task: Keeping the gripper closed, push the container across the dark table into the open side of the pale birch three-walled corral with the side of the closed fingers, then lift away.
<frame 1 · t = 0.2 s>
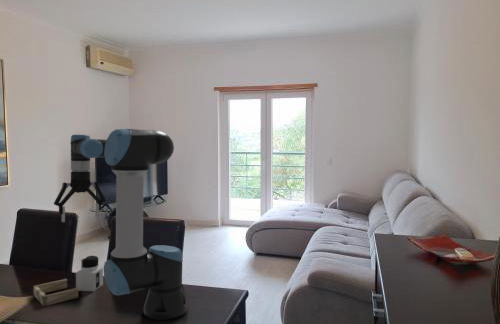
hand: (80, 220, 158), 27 cm above the table, fingers open, 13 cm apart
corral: (57, 295, 144), on the table
container: (89, 288, 153), on the table
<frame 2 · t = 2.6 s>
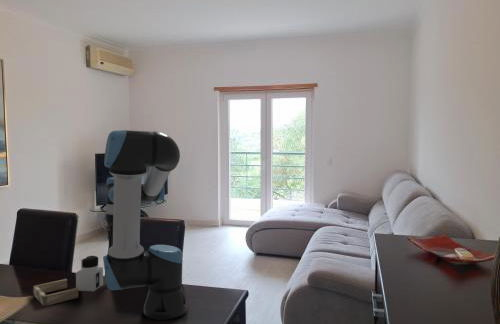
hand: (115, 266, 161), 7 cm above the table, fingers closed
nothing on the table moved.
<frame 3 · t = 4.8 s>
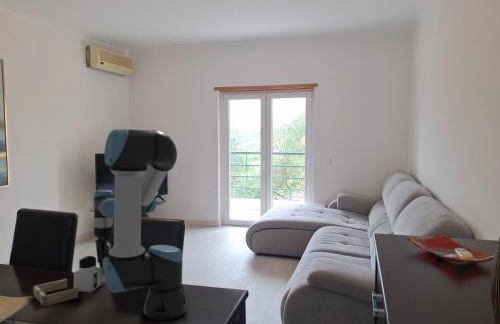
hand: (103, 280, 157), 1 cm above the table, fingers closed
container: (87, 288, 152), on the table, touching gripper
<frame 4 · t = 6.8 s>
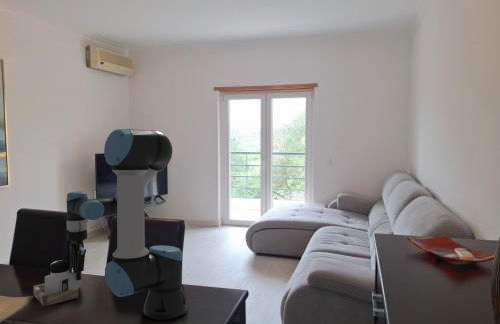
hand: (77, 287, 149), 1 cm above the table, fingers closed
container: (59, 294, 146), on the table, touching gripper
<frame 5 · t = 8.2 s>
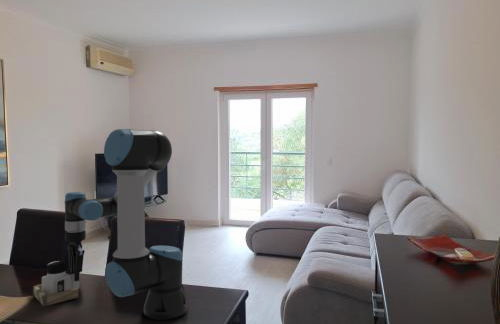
hand: (75, 288, 149), 1 cm above the table, fingers closed
container: (56, 295, 145), on the table
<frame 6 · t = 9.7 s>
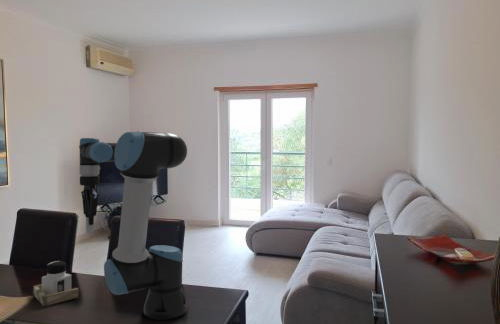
hand: (89, 232, 152), 23 cm above the table, fingers closed
nothing on the table moved.
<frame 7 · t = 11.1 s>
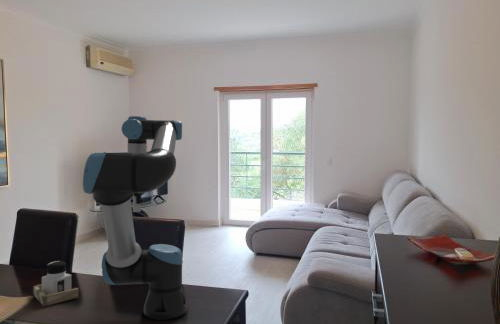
hand: (137, 211, 151), 32 cm above the table, fingers closed
nothing on the table moved.
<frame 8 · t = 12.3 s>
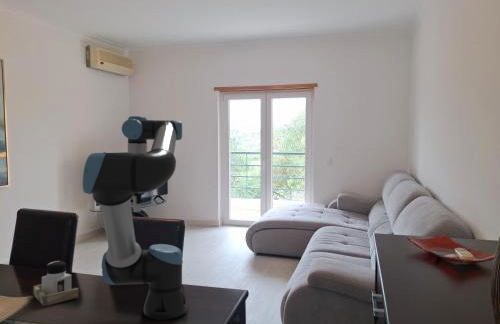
hand: (137, 211, 151), 32 cm above the table, fingers closed
nothing on the table moved.
at the end: container inside the target area on the corral (1.1 cm from its centre), point 0.0 cm above the corral's base; container tilted 0° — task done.
